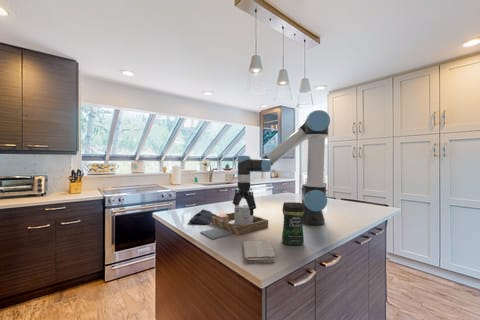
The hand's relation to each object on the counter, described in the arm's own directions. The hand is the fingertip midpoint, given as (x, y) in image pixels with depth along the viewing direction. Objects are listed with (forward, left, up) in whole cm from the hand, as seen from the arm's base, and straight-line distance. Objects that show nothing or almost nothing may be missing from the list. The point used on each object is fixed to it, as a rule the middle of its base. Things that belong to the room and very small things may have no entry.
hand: (243, 218), depth 128 cm
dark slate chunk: (+23, +14, -4) cm, 28 cm away
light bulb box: (0, 0, -4) cm, 4 cm away
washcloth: (-34, +20, -4) cm, 40 cm away
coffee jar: (-36, 0, -4) cm, 36 cm away
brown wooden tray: (0, +3, -3) cm, 5 cm away
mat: (-4, +21, -3) cm, 22 cm away
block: (+8, +9, -3) cm, 13 cm away
